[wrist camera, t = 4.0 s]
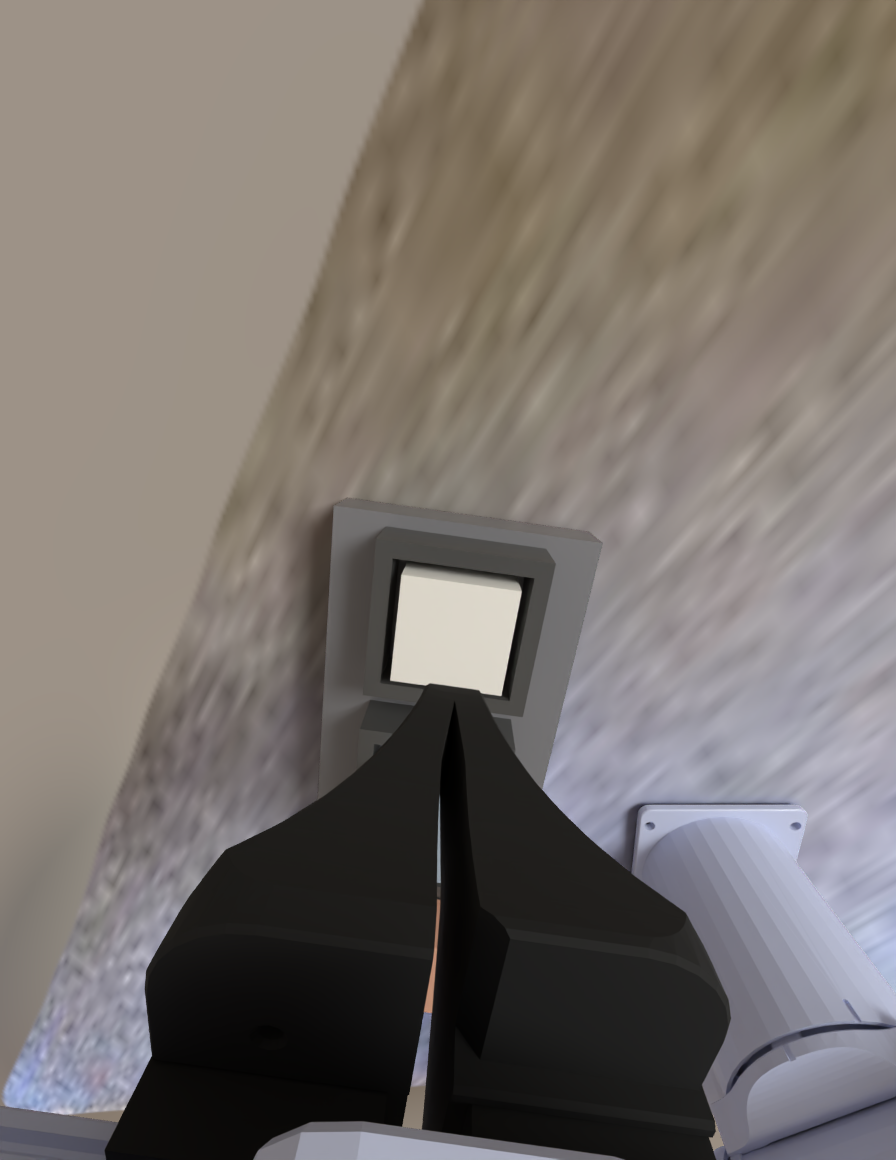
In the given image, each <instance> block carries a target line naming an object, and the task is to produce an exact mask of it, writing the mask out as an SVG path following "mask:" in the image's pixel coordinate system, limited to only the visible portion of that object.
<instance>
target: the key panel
mask: <svg viewBox="0 0 896 1160" xmlns="http://www.w3.org/2000/svg"><path fill="white" fill-rule="evenodd" d="M602 544H603V543H602V542H601V541H599V540H598V539H597V538H596V537H595V536H594V535H592V534H591V533H590V532H587V531H580V530H573V529H566V528H559V527H552V526H545V525H538V524H530V523H523V522H516V521H509V520H502V519H495V518H488V517H481V516H473V515H466V514H459V513H452V512H445V511H438V510H431V509H424V508H416V507H409V506H402V505H395V504H388V503H381V502H374V501H367V500H359V499H352V498H346V499H344V500H343V501H341V502H339V503H337V504H336V505H334V511H333V529H332V547H331V565H330V583H329V602H328V620H327V638H326V656H325V674H324V692H323V710H322V728H321V746H320V765H319V783H318V799H320V798H321V797H323V796H324V795H326V794H327V793H328V792H330V791H331V790H332V789H334V788H335V787H336V786H338V785H339V784H340V783H341V782H343V781H344V780H345V779H346V778H348V777H349V776H350V775H352V774H353V773H354V772H355V771H356V770H357V769H359V768H360V767H361V766H362V765H363V764H364V763H365V762H366V761H367V760H369V759H370V758H371V757H372V756H373V755H374V754H375V753H376V752H377V751H378V750H379V749H380V748H381V747H382V745H383V744H384V743H385V742H386V741H387V740H388V739H389V738H390V737H391V735H392V734H393V733H394V732H395V731H396V730H397V729H398V727H399V726H400V725H401V724H402V722H403V721H404V720H405V718H406V717H407V716H408V714H409V713H410V712H411V710H412V709H413V707H414V706H415V704H416V703H417V701H418V700H419V698H420V696H421V694H422V692H423V690H424V687H425V686H426V685H418V684H411V683H404V682H397V681H390V678H391V669H392V659H393V650H394V641H395V631H396V622H397V613H398V603H399V594H400V584H401V575H402V573H403V570H404V568H405V566H406V564H407V562H408V561H415V562H422V563H429V564H436V565H443V566H450V567H457V568H465V569H472V570H479V571H486V572H493V573H500V574H507V575H515V576H517V579H518V582H519V585H520V588H521V591H522V593H521V598H520V603H519V608H518V613H517V619H516V624H515V629H514V634H513V639H512V644H511V649H510V654H509V659H508V664H507V670H506V675H505V680H504V685H503V690H502V695H501V696H497V695H490V694H483V693H482V695H483V697H484V699H485V702H486V704H487V706H488V708H489V710H490V712H491V714H492V716H493V718H494V719H495V721H496V723H497V725H498V727H499V729H500V730H501V732H502V734H503V735H504V737H505V739H506V740H507V742H508V743H509V745H510V747H511V748H512V750H513V751H514V753H515V754H516V756H517V757H518V759H519V760H520V762H521V763H522V764H523V766H524V767H525V769H526V770H527V772H528V773H529V774H530V775H531V777H532V778H533V779H534V781H535V782H536V783H537V784H538V786H539V787H540V788H541V789H542V788H543V783H544V779H545V775H546V771H547V767H548V763H549V759H550V755H551V751H552V747H553V743H554V739H555V735H556V731H557V727H558V723H559V719H560V714H561V710H562V706H563V702H564V698H565V694H566V690H567V686H568V682H569V678H570V674H571V670H572V666H573V662H574V658H575V654H576V650H577V645H578V641H579V637H580V633H581V629H582V625H583V621H584V617H585V613H586V609H587V605H588V601H589V597H590V593H591V589H592V585H593V581H594V577H595V572H596V568H597V564H598V560H599V556H600V552H601V548H602ZM440 892H441V883H437V899H438V900H440Z"/></svg>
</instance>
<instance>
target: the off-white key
mask: <svg viewBox="0 0 896 1160" xmlns="http://www.w3.org/2000/svg"><path fill="white" fill-rule="evenodd" d="M521 593H522V591H521V588H520V585H519V582H518V579H517V576H515V575H507V574H500V573H493V572H486V571H479V570H472V569H465V568H457V567H450V566H443V565H436V564H429V563H422V562H415V561H408V562H407V564H406V566H405V568H404V570H403V573H402V575H401V584H400V594H399V603H398V613H397V622H396V631H395V641H394V650H393V659H392V669H391V678H390V681H397V682H404V683H411V684H418V685H428V684H429V683H433V684H440V685H447V686H454V687H461V688H468V689H475V690H479V691H480V692H481V693H483V694H490V695H497V696H501V695H502V690H503V685H504V680H505V675H506V670H507V664H508V659H509V654H510V649H511V644H512V639H513V634H514V629H515V624H516V619H517V613H518V608H519V603H520V598H521Z"/></svg>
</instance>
